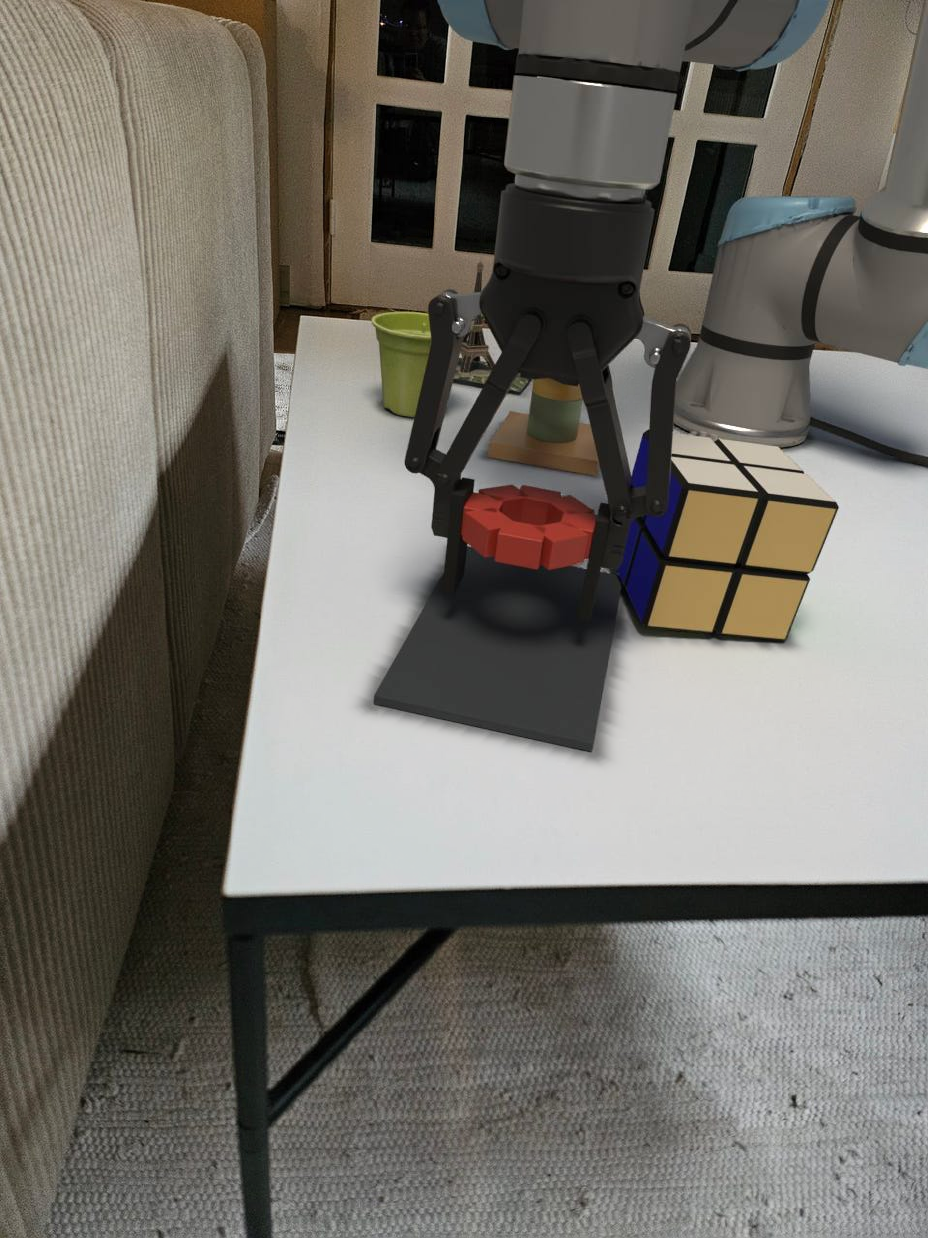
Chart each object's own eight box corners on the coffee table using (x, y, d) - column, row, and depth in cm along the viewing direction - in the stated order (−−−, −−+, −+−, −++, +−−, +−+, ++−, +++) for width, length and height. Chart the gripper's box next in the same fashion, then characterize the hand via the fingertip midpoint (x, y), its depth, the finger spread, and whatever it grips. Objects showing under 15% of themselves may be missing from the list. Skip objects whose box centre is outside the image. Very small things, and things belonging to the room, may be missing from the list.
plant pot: (462, 401, 98) (471, 318, 93) (453, 429, 89) (461, 340, 85) (376, 390, 98) (380, 307, 93) (359, 417, 90) (363, 327, 85)
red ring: (597, 525, 56) (602, 498, 55) (583, 579, 50) (589, 550, 49) (478, 503, 57) (481, 476, 56) (449, 553, 51) (452, 524, 50)
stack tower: (605, 441, 91) (630, 307, 84) (595, 476, 82) (622, 329, 76) (508, 425, 92) (524, 291, 86) (487, 457, 84) (504, 312, 77)
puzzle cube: (607, 557, 66) (642, 426, 61) (736, 572, 68) (780, 445, 63) (641, 629, 58) (685, 484, 53) (787, 644, 59) (844, 504, 54)
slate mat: (621, 582, 65) (623, 575, 64) (591, 752, 48) (593, 743, 47) (458, 551, 66) (459, 544, 66) (373, 704, 49) (373, 695, 49)
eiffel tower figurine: (392, 373, 104) (399, 249, 97) (419, 353, 113) (427, 238, 106) (519, 395, 101) (536, 269, 94) (537, 373, 110) (553, 256, 103)
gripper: (789, 207, 46) (687, 601, 57) (399, 157, 49) (377, 541, 60) (802, 223, 39) (685, 663, 51) (353, 164, 42) (338, 592, 54)
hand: (518, 596), depth 56 cm, fingers closed on red ring, 8 cm apart
